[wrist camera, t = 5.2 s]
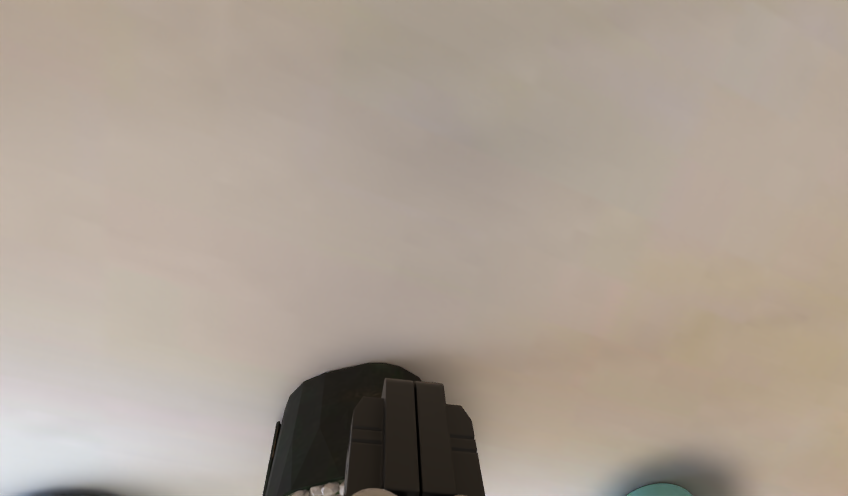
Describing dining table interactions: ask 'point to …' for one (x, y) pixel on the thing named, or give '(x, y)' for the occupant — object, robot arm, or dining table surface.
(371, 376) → the sushi
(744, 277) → the dining table surface
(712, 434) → the dining table surface
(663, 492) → the cupcake
